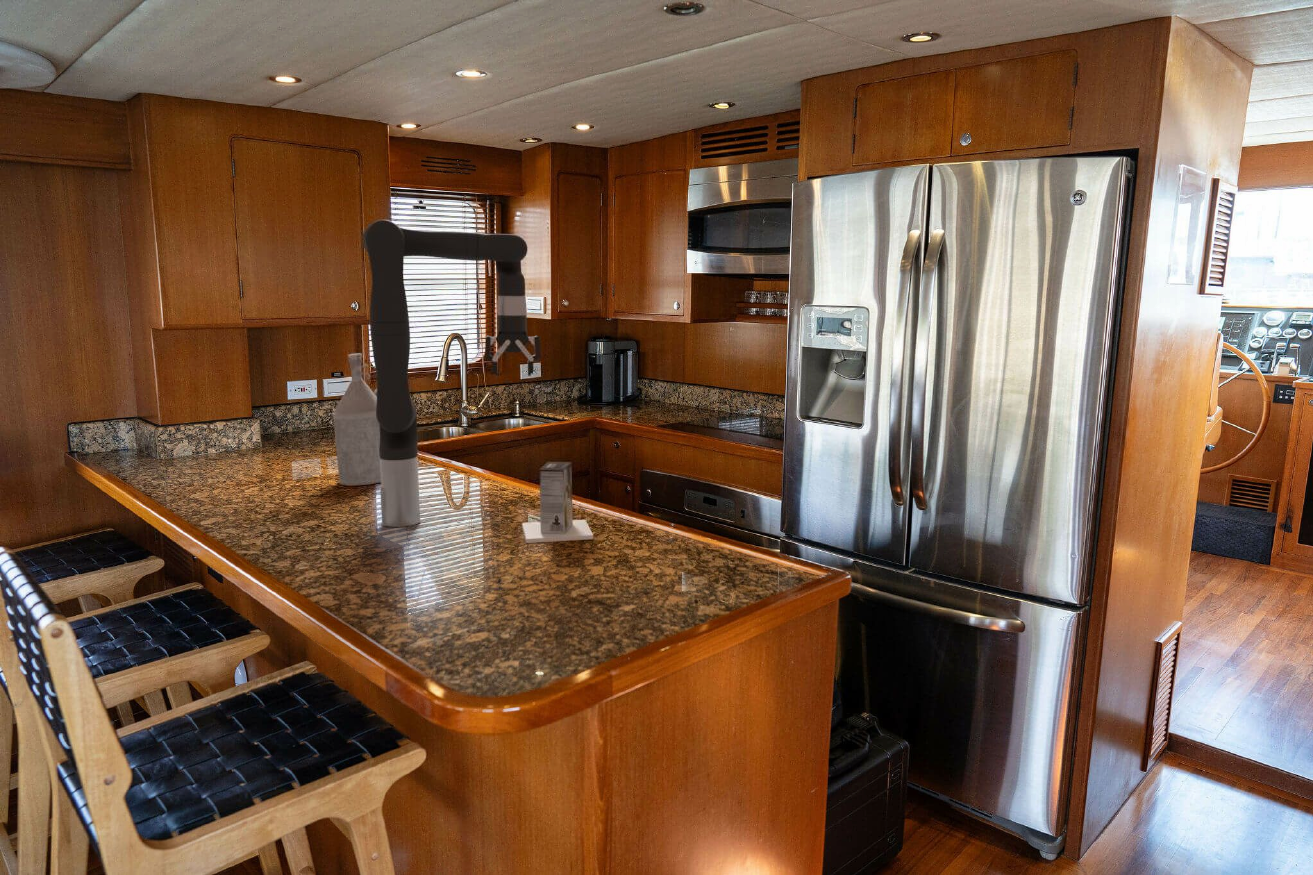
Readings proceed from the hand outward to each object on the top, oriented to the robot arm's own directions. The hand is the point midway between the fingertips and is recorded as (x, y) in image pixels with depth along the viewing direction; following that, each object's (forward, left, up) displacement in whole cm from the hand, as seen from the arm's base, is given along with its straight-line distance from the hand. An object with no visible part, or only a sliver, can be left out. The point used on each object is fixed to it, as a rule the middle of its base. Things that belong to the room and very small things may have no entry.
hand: (513, 375), depth 226 cm
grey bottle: (-43, +45, -37) cm, 72 cm away
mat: (+9, -23, -37) cm, 44 cm away
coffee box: (+9, -23, -36) cm, 44 cm away
